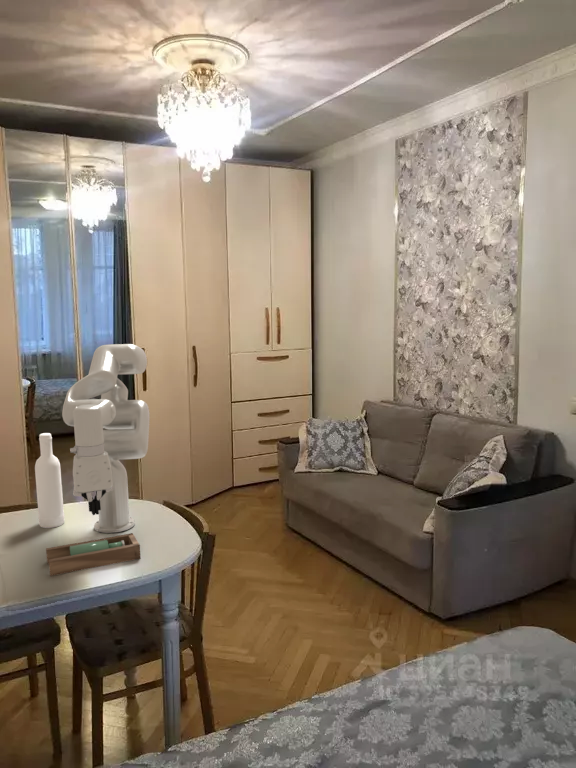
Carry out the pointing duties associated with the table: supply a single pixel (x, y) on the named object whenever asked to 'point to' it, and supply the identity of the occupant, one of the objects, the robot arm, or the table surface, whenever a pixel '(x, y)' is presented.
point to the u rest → (92, 555)
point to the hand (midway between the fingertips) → (95, 513)
